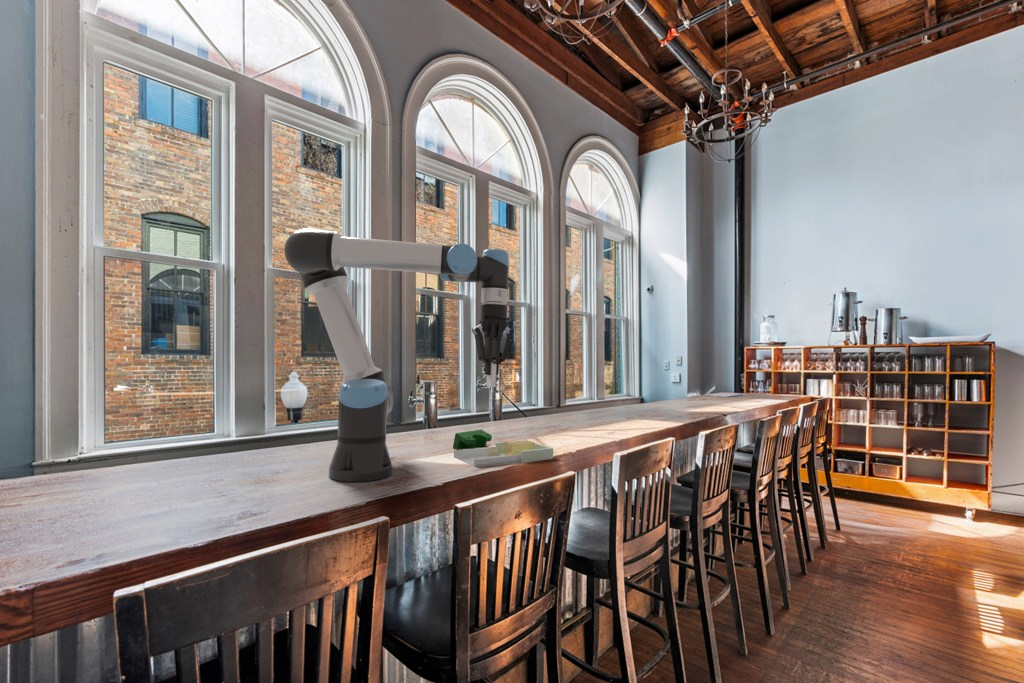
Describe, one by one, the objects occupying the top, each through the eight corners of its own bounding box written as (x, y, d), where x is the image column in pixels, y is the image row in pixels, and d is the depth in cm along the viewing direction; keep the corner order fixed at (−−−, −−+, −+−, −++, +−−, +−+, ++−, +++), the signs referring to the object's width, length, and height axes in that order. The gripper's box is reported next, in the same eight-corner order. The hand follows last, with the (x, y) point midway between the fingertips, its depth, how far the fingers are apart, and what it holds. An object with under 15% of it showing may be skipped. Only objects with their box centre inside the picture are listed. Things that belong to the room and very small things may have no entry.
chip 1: (511, 458, 146) (511, 444, 146) (504, 455, 149) (504, 442, 149) (523, 457, 148) (523, 443, 148) (515, 454, 151) (516, 441, 151)
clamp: (467, 467, 156) (463, 443, 152) (454, 459, 160) (451, 435, 156) (495, 448, 163) (492, 425, 159) (482, 441, 167) (479, 418, 163)
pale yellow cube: (523, 457, 148) (523, 443, 148) (515, 454, 151) (516, 441, 151) (534, 455, 150) (534, 442, 150) (526, 453, 153) (527, 440, 154)
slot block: (476, 470, 134) (476, 459, 134) (453, 459, 145) (454, 450, 145) (520, 464, 142) (520, 454, 142) (495, 455, 153) (496, 446, 153)
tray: (521, 465, 141) (521, 451, 141) (495, 455, 153) (495, 442, 153) (553, 461, 147) (553, 448, 147) (525, 452, 159) (525, 439, 159)
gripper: (480, 301, 138) (477, 388, 138) (520, 305, 145) (517, 387, 145) (467, 303, 144) (464, 385, 144) (506, 306, 151) (503, 385, 151)
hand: (490, 386), depth 144 cm, fingers closed
